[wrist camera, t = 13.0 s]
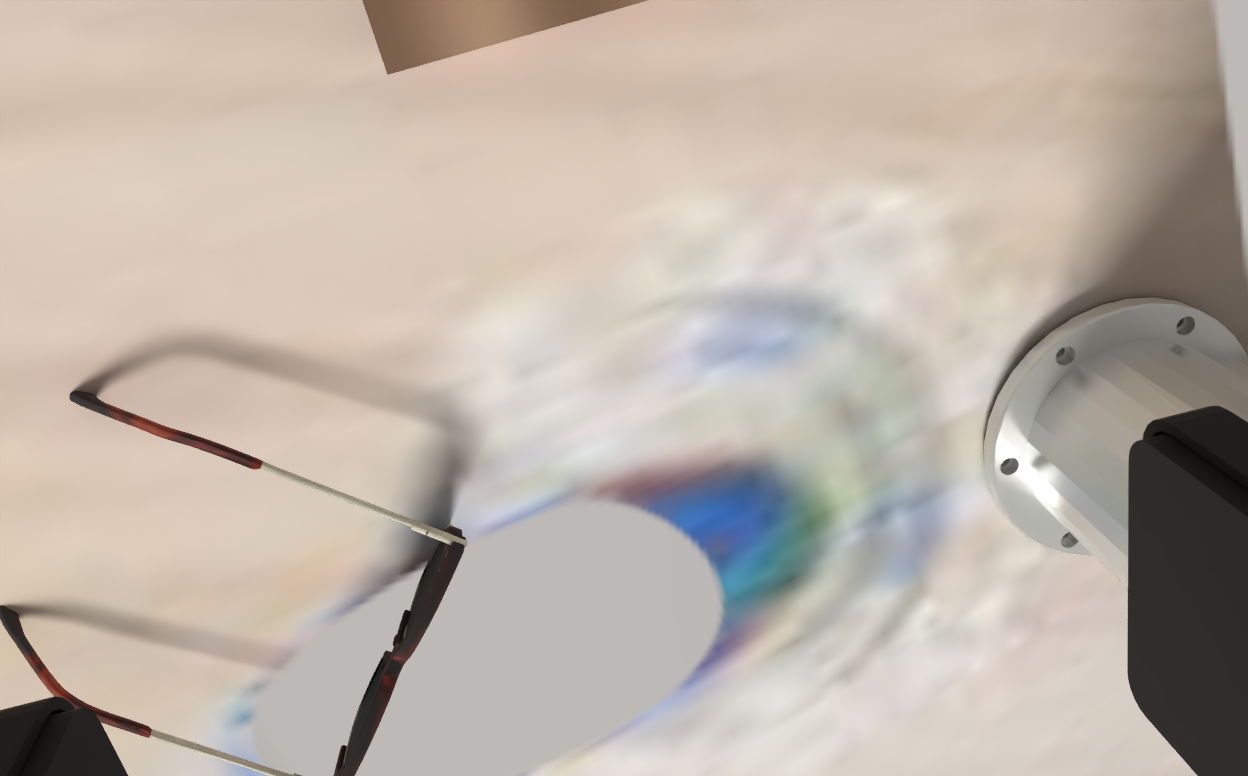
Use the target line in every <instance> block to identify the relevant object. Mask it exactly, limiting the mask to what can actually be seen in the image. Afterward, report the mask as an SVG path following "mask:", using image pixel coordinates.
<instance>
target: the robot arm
mask: <svg viewBox="0 0 1248 776" xmlns="http://www.w3.org/2000/svg"><path fill="white" fill-rule="evenodd" d="M984 469H985V473H986V478H987V482H988V486H989V489H990V491H991V493H992V495H993V497H994V500H995V502H996V504H997V506H998V507H999V509H1000V510H1001V511H1002V512H1003V513H1004V514H1005V516H1006V517H1007V518H1008V519H1009V520H1010V521H1011V523H1012V524H1013V525H1014V526H1015V527H1016V528H1018V529H1019V530H1020V531H1021V532H1022V533H1023V534H1024V535H1025V536H1026V537H1027V538H1029V539H1031V540H1032V541H1034V542H1036V543H1038V544H1040V545H1041V546H1043V547H1045V548H1048V549H1051V550H1054V551H1057V552H1060V553H1064V554H1071V555H1083V556H1095V557H1096V558H1097V559H1098V560H1099V561H1100V562H1101V563H1102V564H1103V565H1104V566H1105V567H1106V568H1107V569H1108V570H1109V571H1110V572H1111V573H1112V574H1113V575H1114V576H1115V577H1116V578H1117V579H1118V580H1119V581H1120V582H1121V583H1122V584H1123V585H1124V586H1125V587H1126V588H1127V589H1128V680H1129V684H1130V688H1131V691H1132V693H1133V696H1134V698H1135V701H1136V702H1137V704H1138V706H1139V708H1140V709H1141V711H1142V712H1143V713H1144V715H1145V716H1146V717H1147V719H1148V720H1149V721H1150V722H1151V723H1152V724H1153V725H1154V726H1155V728H1156V729H1157V730H1158V731H1159V732H1160V733H1161V734H1162V736H1163V737H1164V738H1165V739H1166V740H1167V741H1168V742H1169V744H1170V745H1171V746H1172V747H1173V748H1174V749H1175V750H1176V752H1177V753H1178V754H1179V755H1180V756H1181V757H1182V758H1183V759H1184V761H1185V762H1186V763H1187V764H1188V765H1189V766H1190V767H1191V769H1192V770H1193V771H1194V772H1195V773H1196V774H1197V775H1198V776H1248V357H1247V354H1246V352H1245V351H1244V349H1243V348H1242V346H1241V345H1240V343H1239V341H1238V340H1237V338H1236V337H1235V335H1234V334H1232V333H1231V332H1230V331H1229V330H1228V329H1227V328H1226V327H1225V326H1224V325H1223V324H1222V323H1220V322H1219V321H1218V320H1216V319H1214V318H1213V317H1211V316H1209V315H1207V314H1206V313H1204V312H1202V311H1200V310H1198V309H1196V308H1194V307H1191V306H1189V305H1186V304H1183V303H1181V302H1178V301H1174V300H1168V299H1161V298H1154V297H1149V298H1132V299H1124V300H1120V301H1116V302H1112V303H1108V304H1104V305H1100V306H1098V307H1096V308H1093V309H1091V310H1089V311H1086V312H1084V313H1082V314H1080V315H1077V316H1075V317H1074V318H1072V319H1070V320H1069V321H1067V322H1066V323H1064V324H1063V325H1061V326H1059V327H1058V328H1056V329H1055V330H1053V331H1052V332H1050V333H1049V334H1048V335H1047V336H1046V337H1045V338H1044V339H1042V340H1041V341H1040V342H1039V343H1038V344H1037V345H1036V346H1035V347H1033V348H1032V349H1031V350H1030V351H1029V352H1028V353H1027V355H1026V356H1025V357H1024V358H1023V359H1022V361H1021V362H1020V363H1019V364H1018V365H1017V367H1016V368H1015V369H1014V370H1013V371H1012V373H1011V374H1010V376H1009V378H1008V379H1007V381H1006V383H1005V385H1004V386H1003V388H1002V390H1001V391H1000V393H999V395H998V397H997V399H996V402H995V404H994V407H993V409H992V412H991V415H990V417H989V420H988V425H987V430H986V435H985V441H984ZM0 776H128V774H127V773H126V771H125V769H124V767H123V765H122V763H121V761H120V759H119V757H118V755H117V753H116V751H115V749H114V747H113V746H112V744H111V742H110V740H109V738H108V736H107V734H106V732H105V730H104V728H103V726H102V724H101V722H100V720H99V719H98V717H97V716H96V714H95V713H94V712H93V711H92V710H90V709H89V708H85V707H81V708H78V709H75V708H74V707H73V705H72V704H71V703H70V702H69V701H67V700H66V699H65V698H62V697H56V696H55V697H51V698H47V699H43V700H39V701H35V702H31V703H27V704H23V705H19V706H15V707H11V708H7V709H3V710H0Z"/></svg>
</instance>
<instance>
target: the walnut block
mask: <svg viewBox="0 0 1248 776" xmlns="http://www.w3.org/2000/svg"><path fill="white" fill-rule="evenodd" d="M644 1H647V0H363V3H364V6H365V9H366V12H367V15H368V18H369V21H370V24H371V27H372V30H373V33H374V36H375V39H376V42H377V45H378V48H379V51H380V53H381V56H382V59H383V62H384V65H385V68H386V71H387V74H392V73H395V72H399V71H402V70H406V69H409V68H413V67H416V66H420V65H423V64H427V63H430V62H434V61H437V60H441V59H444V58H448V57H451V56H455V55H458V54H462V53H465V52H469V51H472V50H476V49H479V48H483V47H486V46H490V45H493V44H497V43H500V42H504V41H507V40H511V39H514V38H518V37H521V36H525V35H528V34H532V33H535V32H539V31H542V30H546V29H549V28H553V27H556V26H560V25H563V24H567V23H570V22H574V21H577V20H581V19H584V18H588V17H591V16H595V15H598V14H602V13H605V12H609V11H612V10H616V9H619V8H623V7H626V6H630V5H633V4H637V3H640V2H644Z"/></svg>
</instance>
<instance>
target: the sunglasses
mask: <svg viewBox="0 0 1248 776" xmlns="http://www.w3.org/2000/svg"><path fill="white" fill-rule="evenodd" d="M70 400H71V401H72V402H74V403H76V404H78V405H80V406H83V407H85V408H88V409H90V410H93V411H95V412H98V413H100V414H103V415H105V416H108V417H110V418H113V419H115V420H118V421H121V422H123V423H126V424H128V425H131V426H134V427H136V428H139V429H141V430H144V431H146V432H149V433H151V434H154V435H156V436H159V437H162V438H165V439H168V440H171V441H175V442H178V443H182V444H185V445H188V446H192V447H195V448H198V449H200V450H203V451H206V452H209V453H212V454H214V455H217V456H220V457H222V458H225V459H228V460H230V461H233V462H235V463H238V464H241V465H243V466H246V467H248V468H251V469H263V470H265V471H268V472H270V473H273V474H275V475H278V476H280V477H283V478H286V479H288V480H291V481H293V482H296V483H299V484H301V485H304V486H307V487H309V488H312V489H315V490H317V491H320V492H322V493H325V494H328V495H330V496H333V497H336V498H338V499H341V500H344V501H346V502H349V503H351V504H354V505H357V506H359V507H362V508H364V509H367V510H369V511H372V512H374V513H377V514H380V515H382V516H385V517H387V518H390V519H392V520H395V521H397V522H400V523H402V524H405V525H408V526H410V527H411V530H414V531H416V532H419V533H421V534H424V535H427V536H429V537H431V538H434V539H437V540H439V541H440V543H439V545H438V547H437V549H436V551H435V553H434V555H433V557H432V559H431V561H430V563H429V564H428V565H427V566H426V567H425V569H424V571H423V574H422V576H421V579H420V581H419V584H418V587H417V589H416V592H415V596H414V599H413V602H412V605H411V609H410V611H408V610H405V611H404V613H403V616H402V620H401V623H400V627H399V630H398V634H397V635H396V636H395V637H394V641H393V646H394V648H393V651H392V652H389V651H385V653H384V655H383V657H382V658H381V660H380V662H379V664H378V666H377V668H376V670H375V672H374V674H373V676H372V678H371V680H370V682H369V685H368V687H367V689H366V692H365V694H364V696H363V699H362V701H361V704H360V706H359V708H358V711H357V714H356V717H355V720H354V724H353V727H352V730H351V734H350V738H349V741H348V745H347V746H345V745H343V746H342V747H341V749H340V753H339V757H338V761H337V765H336V769H335V773H334V776H354V775H355V774H356V772H357V770H358V768H359V766H360V764H361V762H362V760H363V758H364V756H365V754H366V752H367V750H368V747H369V745H370V743H371V741H372V739H373V737H374V734H375V732H376V730H377V728H378V726H379V723H380V721H381V719H382V716H383V714H384V712H385V709H386V707H387V705H388V702H389V700H390V697H391V695H392V692H393V689H394V687H395V684H396V681H397V678H398V676H399V673H400V671H401V669H402V667H403V665H404V664H405V662H406V661H407V660H408V659H409V658H410V657H411V655H412V653H413V652H414V650H415V648H416V647H417V645H418V644H419V642H420V640H421V639H422V637H423V635H424V633H425V631H426V629H427V628H428V626H429V624H430V622H431V620H432V618H433V616H434V614H435V612H436V610H437V608H438V607H439V604H440V602H441V600H442V598H443V596H444V594H445V592H446V590H447V587H448V585H449V583H450V581H451V579H452V577H453V574H454V572H455V570H456V567H457V565H458V563H459V561H460V559H461V556H462V554H463V552H464V550H465V549H466V547H467V541H466V538H465V537H463V536H462V530H461V529H458V528H455V527H453V525H450V524H449V525H448V526H447V527H446V528H445V529H446V530H445V532H444V531H441V530H439V529H436V528H434V527H431V526H429V525H426V524H424V523H421V522H418V521H416V520H411V519H409V518H406V517H404V516H401V515H398V514H396V513H393V512H390V511H388V510H385V509H383V508H380V507H378V506H375V505H373V504H370V503H368V502H365V501H363V500H360V499H357V498H355V497H352V496H350V495H347V494H344V493H342V492H339V491H337V490H334V489H331V488H329V487H326V486H324V485H321V484H319V483H316V482H313V481H311V480H308V479H306V478H303V477H300V476H298V475H295V474H293V473H290V472H287V471H285V470H282V469H280V468H277V467H275V466H273V465H270V464H268V463H266V462H264V461H261V460H259V459H257V458H255V457H252V456H250V455H247V454H244V453H242V452H239V451H237V450H234V449H232V448H229V447H226V446H224V445H221V444H218V443H216V442H213V441H210V440H207V439H204V438H201V437H198V436H195V435H192V434H189V433H186V432H182V431H179V430H175V429H172V428H169V427H166V426H163V425H160V424H158V423H155V422H153V421H150V420H148V419H145V418H143V417H140V416H137V415H135V414H132V413H129V412H127V411H124V410H122V409H119V408H116V407H114V406H111V405H109V404H106V403H104V402H102V401H101V400H99V399H98V398H97V397H95V396H93V395H92V394H90V393H85V392H77V391H74V392H71V393H70ZM0 619H1V621H2V623H3V626H4V627H5V629H6V630H7V632H8V633H9V635H10V636H11V638H12V639H13V641H14V642H15V643H16V645H17V646H18V648H19V649H20V651H21V652H22V654H23V655H24V657H25V658H26V660H27V661H28V663H29V664H30V666H31V667H32V668H33V670H34V671H35V673H36V674H37V675H38V677H39V678H40V680H41V681H42V682H43V683H44V685H45V686H46V687H47V689H48V690H49V691H50V692H51V693H52V694H53V695H54V696H56V697H62V698H65V699H66V700H67V701H69V702H70V703H71V704H72V705H73V707H74V708H75V709H78V708H81V707H85V708H89V709H90V710H92V711H93V712H94V713H95V714H96V716H97V717H98V719H99V720H100V722H102V723H105V724H108V725H111V726H114V727H117V728H120V729H123V730H126V731H129V732H132V733H135V734H138V735H141V736H144V737H148V738H151V739H155V740H159V741H162V742H166V743H169V744H172V745H175V746H179V747H182V748H185V749H188V750H191V751H195V752H198V753H201V754H204V755H208V756H211V757H214V758H217V759H221V760H224V761H227V762H230V763H233V764H236V765H240V766H243V767H246V768H249V769H252V770H255V771H258V772H261V773H264V774H267V775H270V776H301V775H298V774H293V775H291V774H288V773H284V772H281V771H278V770H274V769H271V768H268V767H265V766H262V765H260V764H257V763H254V762H251V761H248V760H245V759H242V758H239V757H236V756H233V755H229V754H226V753H223V752H220V751H217V750H214V749H211V748H208V747H205V746H202V745H199V744H196V743H193V742H190V741H187V740H184V739H181V738H177V737H174V736H171V735H168V734H165V733H162V732H158V731H155V730H152V729H151V728H150V727H148V726H146V725H143V724H141V723H138V722H135V721H132V720H129V719H126V718H123V717H120V716H117V715H114V714H111V713H108V712H106V711H103V710H100V709H98V708H95V707H93V706H91V705H88V704H86V703H85V702H83V701H81V700H79V699H78V698H76V697H74V696H73V695H71V694H70V693H69V692H67V691H66V690H65V689H64V688H63V687H62V686H61V685H60V684H59V683H58V682H57V681H56V679H55V678H54V677H53V676H52V674H51V673H50V672H49V671H48V669H47V668H46V666H45V665H44V664H43V662H42V661H41V659H40V658H39V657H38V655H37V654H36V652H35V651H34V649H33V648H32V646H31V645H30V643H29V642H28V640H27V639H26V637H25V635H24V632H23V629H22V626H21V623H20V620H19V618H18V616H17V613H16V612H14V611H12V610H10V609H8V608H6V607H4V606H0Z"/></svg>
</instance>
